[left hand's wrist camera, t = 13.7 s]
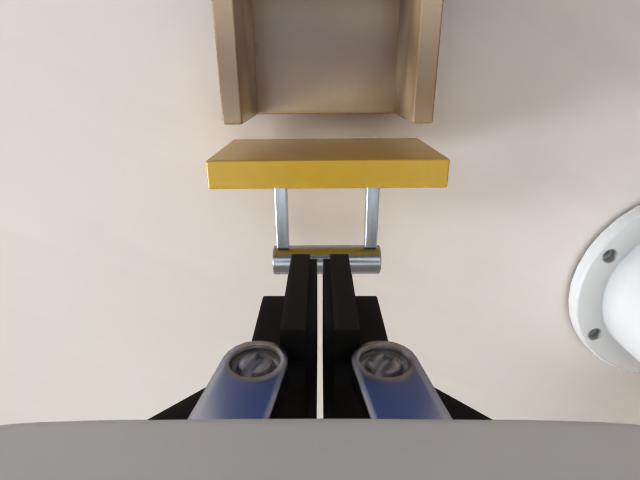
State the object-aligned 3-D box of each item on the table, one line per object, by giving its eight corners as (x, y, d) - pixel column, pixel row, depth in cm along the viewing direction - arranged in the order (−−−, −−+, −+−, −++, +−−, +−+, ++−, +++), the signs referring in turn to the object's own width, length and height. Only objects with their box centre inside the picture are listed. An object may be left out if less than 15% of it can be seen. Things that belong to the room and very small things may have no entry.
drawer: (409, 249, 25) (435, 300, 19) (242, 250, 25) (220, 301, 19) (455, -340, 16) (528, -561, 10) (194, -337, 16) (127, -557, 10)
